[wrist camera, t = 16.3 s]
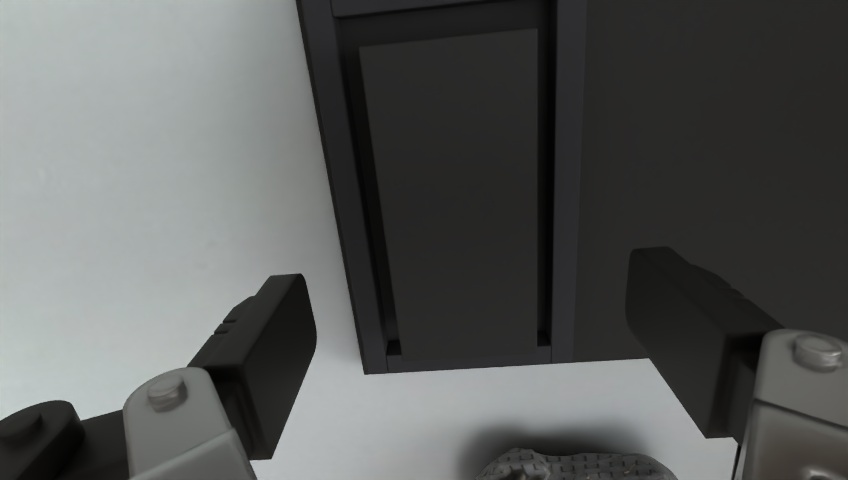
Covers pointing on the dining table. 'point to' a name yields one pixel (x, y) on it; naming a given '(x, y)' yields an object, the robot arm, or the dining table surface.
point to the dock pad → (624, 156)
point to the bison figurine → (574, 467)
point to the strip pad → (458, 189)
